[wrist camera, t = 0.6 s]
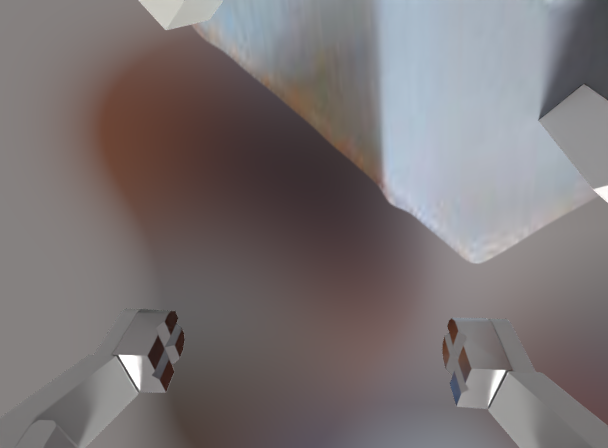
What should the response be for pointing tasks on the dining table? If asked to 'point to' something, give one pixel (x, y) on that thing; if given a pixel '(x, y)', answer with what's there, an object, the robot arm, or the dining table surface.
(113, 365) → the robot arm
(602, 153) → the milk
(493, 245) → the dining table surface
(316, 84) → the dining table surface
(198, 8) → the white handled block
